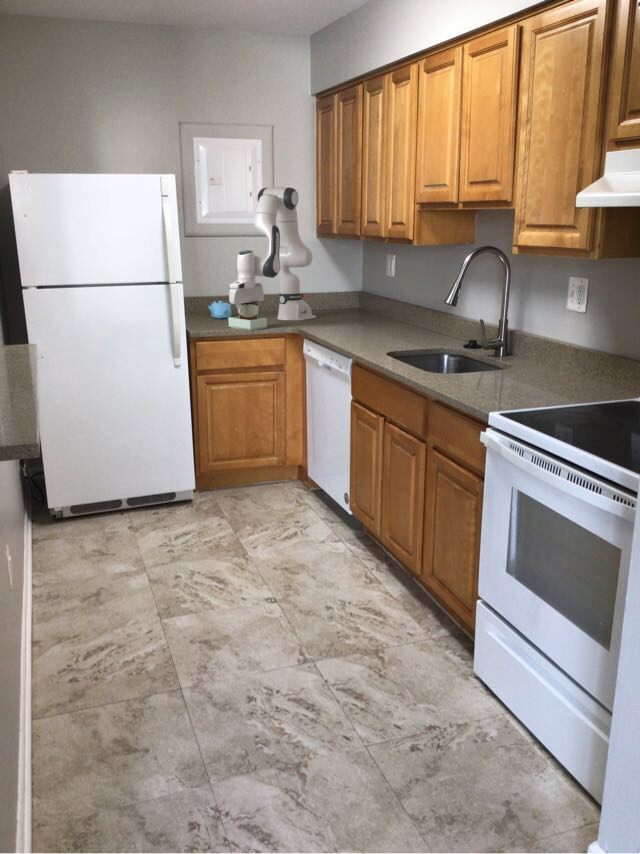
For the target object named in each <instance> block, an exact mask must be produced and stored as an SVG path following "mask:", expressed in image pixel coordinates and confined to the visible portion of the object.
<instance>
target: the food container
mask: <svg viewBox="0 0 640 854" xmlns="http://www.w3.org/2000/svg"><path fill="white" fill-rule="evenodd" d="M240 307H241V309H242V311H243V312H242V313H238V317H239V319H245V320H256V319H258V318H259V310H260V307H261V302H260V301H257V302H250V303H241V306H240Z"/></svg>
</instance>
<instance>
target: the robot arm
mask: <svg viewBox="0 0 640 854" xmlns="http://www.w3.org/2000/svg"><path fill="white" fill-rule="evenodd" d="M256 197H257V204H256V208H255V212H254V219H253V226H254V228H255V229H256V231H257V232H259V233H260V234H261V235H262V234H263V235H264V236H266V237H267V238H268V250H267V252H266V254H265V256H257V255H256V254H254V251H253V250H247V249H246V250H241V251H239V252H238V254H237V257H236V259H237V260H236V269H237V280H235V281H233V282H231V283H230V284H229V288H230V290H229V294H228V295H229V296H228V297H229V299H228V300H229V304H231V305H235V307H236V308H237V313H238V314H239V313H242V312H243V311H242V309H241V307H240V306H241V303H250V302H257V301H259V302H263V301H264V300H265V295H264V293H265V292H264V289H263V288H264V286H263V284H262V283H261V282H258V283H257V282H256V277H266V278H270V279H271V278H272V279H273V278H275V277H278V284H279V292H278V300H279V305H278V312H277V313H278V315H277V318H276V320H282V321H304V320H305V319H306V320H310V319H311V320H312V319H315V318H316V317H317V316H316V315H313V314H312V307H311V306H310V305H309V304H308V303H307V302H305V301H304V300H303V298H305V297H306V293H301V291H300V289H301V287H300V286H301V285H300V284H301V283H300V282H301V281H300V278H299V277H298V275H296V274H294V273H292V272H291V270H290V268H305V267H309V266H310V265H311V264H312V262H313V257H314V256H313V253H312V251H311V249H310V248H309V247H307V246H306V245H305V244H304V242H303V241H302V239H301V237H300V232H299V223H298V212H297V211H298V210H297V206H298V204H299V194H298V191H297V190H296V189H295V188H293V187H286V186H285V187H284V186H275V187H264V188H261V189H260V190H259V191H258V192H257V196H256ZM281 240H283V241H284V242H286V244H287V245H288V246H281V245H280V244H281V243H280V242H281Z"/></svg>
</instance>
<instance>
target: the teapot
mask: <svg viewBox="0 0 640 854" xmlns="http://www.w3.org/2000/svg"><path fill="white" fill-rule="evenodd" d="M207 307H208V309H209V311H210V316H211V317H212V318H214V319H217V320H222V319H225V320H228V318H231V317H232V304H231V303H230V302H228V303H227V302H224V301H223V300H218V302H216V301H215V300H214V301H213V303H211V305H208V306H207Z"/></svg>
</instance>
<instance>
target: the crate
mask: <svg viewBox="0 0 640 854" xmlns="http://www.w3.org/2000/svg"><path fill="white" fill-rule="evenodd" d="M227 320H228V328H229V327H231V328H230V329H234V330H235V329H236V330H243V331H249V332H251V331H258V330H265V329H268V318H265V317H258V319H256V320H245V319H239V316H231V317H229V318H228V319H227Z"/></svg>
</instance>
